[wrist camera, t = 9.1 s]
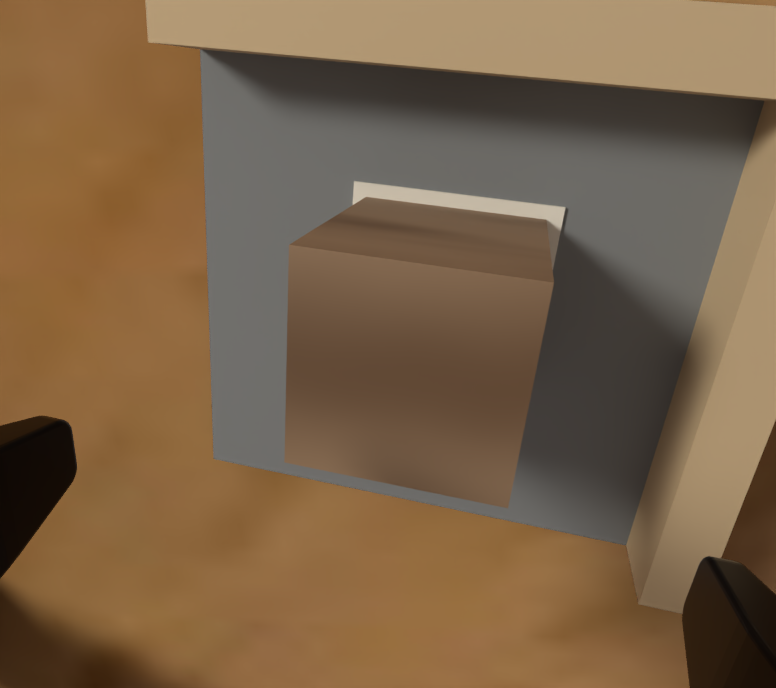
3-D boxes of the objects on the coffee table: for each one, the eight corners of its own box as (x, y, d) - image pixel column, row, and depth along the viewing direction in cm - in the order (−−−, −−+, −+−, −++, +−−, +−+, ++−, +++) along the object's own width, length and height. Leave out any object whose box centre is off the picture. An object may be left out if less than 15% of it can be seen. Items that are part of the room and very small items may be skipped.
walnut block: (515, 385, 18) (507, 508, 13) (354, 357, 19) (284, 462, 14) (546, 219, 16) (553, 282, 11) (365, 196, 17) (288, 244, 12)
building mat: (672, 539, 20) (697, 617, 17) (223, 447, 23) (177, 500, 20) (849, 33, 14) (935, 17, 11) (212, -14, 17) (142, -37, 14)
